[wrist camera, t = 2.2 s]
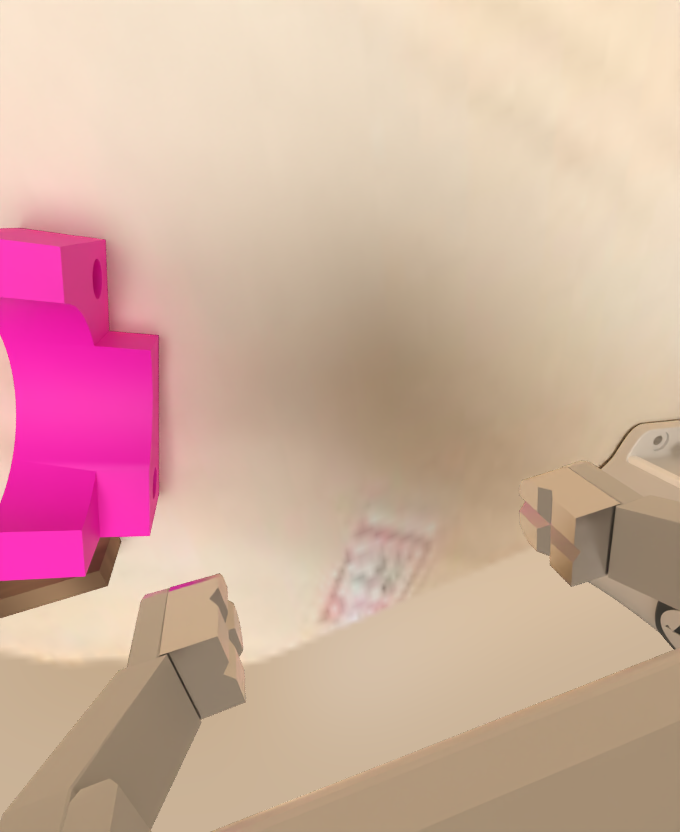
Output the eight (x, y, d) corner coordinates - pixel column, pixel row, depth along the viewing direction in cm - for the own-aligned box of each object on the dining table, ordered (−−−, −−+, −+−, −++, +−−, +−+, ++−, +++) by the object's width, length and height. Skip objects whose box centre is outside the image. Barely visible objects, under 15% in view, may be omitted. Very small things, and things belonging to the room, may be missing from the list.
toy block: (159, 492, 29) (141, 573, 22) (48, 493, 27) (-7, 581, 21) (158, 246, 24) (135, 256, 17) (21, 227, 22) (-66, 230, 15)
